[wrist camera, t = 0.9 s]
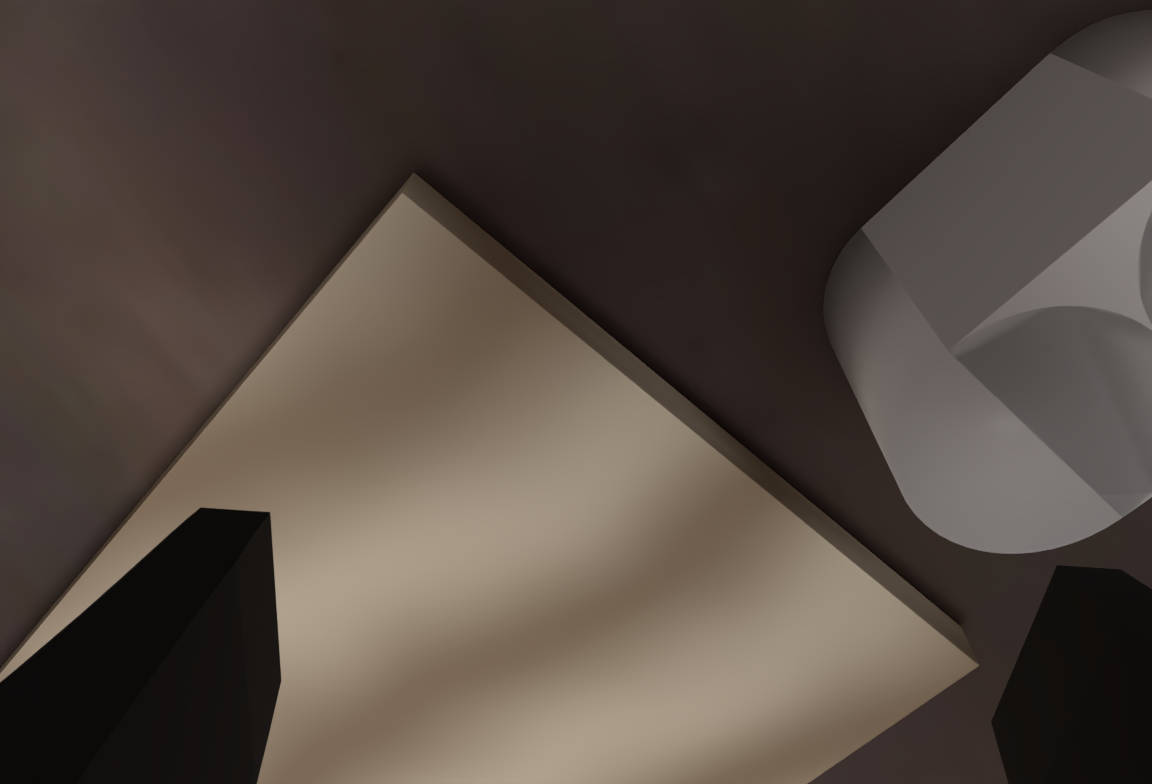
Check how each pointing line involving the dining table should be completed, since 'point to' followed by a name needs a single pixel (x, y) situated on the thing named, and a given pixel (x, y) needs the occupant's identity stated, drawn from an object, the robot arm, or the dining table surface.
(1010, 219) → the usb plug
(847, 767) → the dining table surface
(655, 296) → the dining table surface
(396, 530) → the birch board
